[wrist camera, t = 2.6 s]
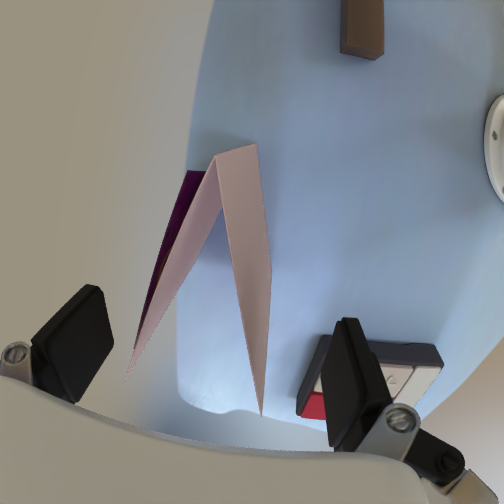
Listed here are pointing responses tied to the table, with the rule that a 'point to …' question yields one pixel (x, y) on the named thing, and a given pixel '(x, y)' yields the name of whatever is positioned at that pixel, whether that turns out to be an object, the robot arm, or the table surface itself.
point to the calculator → (393, 367)
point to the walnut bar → (362, 28)
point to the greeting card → (240, 243)
